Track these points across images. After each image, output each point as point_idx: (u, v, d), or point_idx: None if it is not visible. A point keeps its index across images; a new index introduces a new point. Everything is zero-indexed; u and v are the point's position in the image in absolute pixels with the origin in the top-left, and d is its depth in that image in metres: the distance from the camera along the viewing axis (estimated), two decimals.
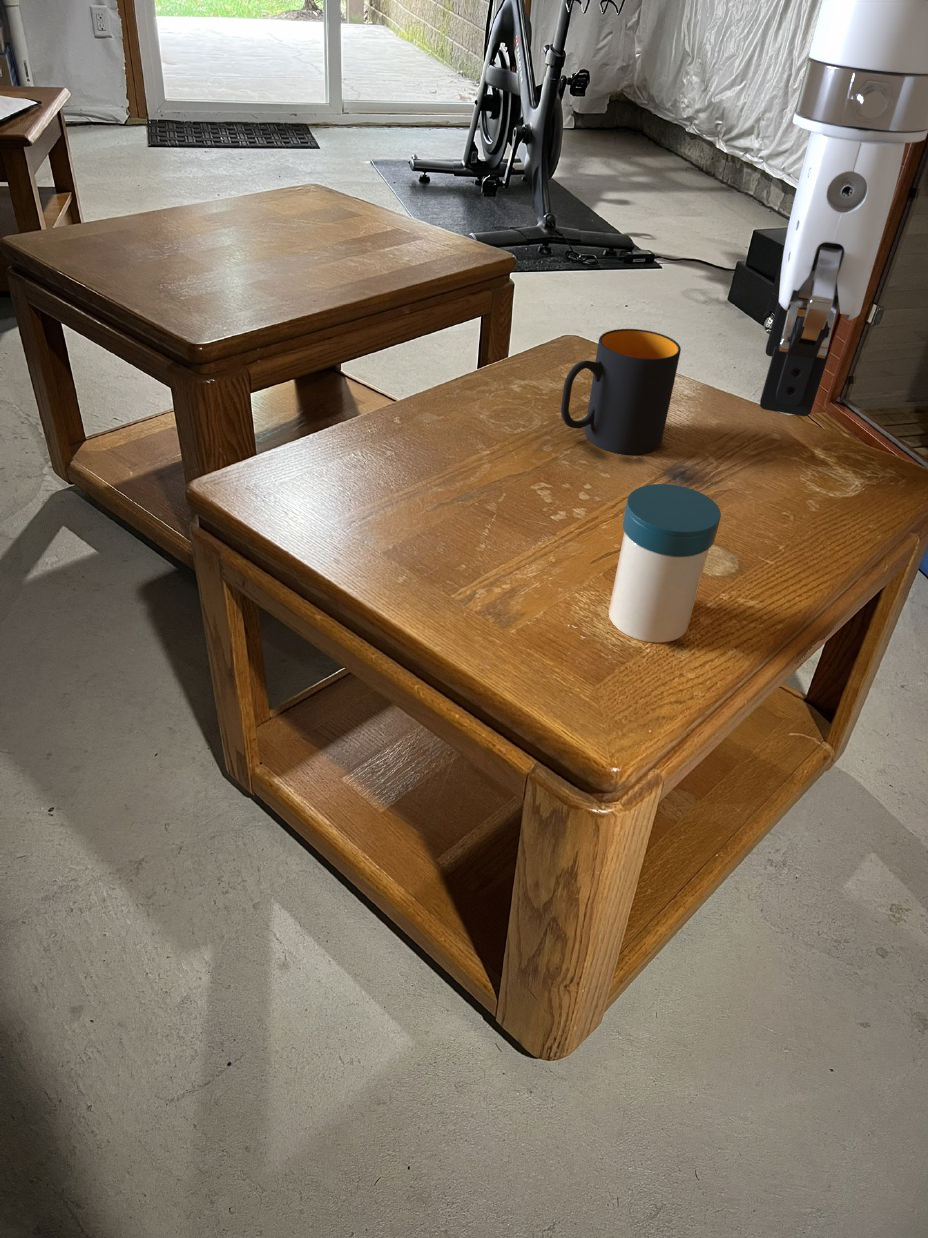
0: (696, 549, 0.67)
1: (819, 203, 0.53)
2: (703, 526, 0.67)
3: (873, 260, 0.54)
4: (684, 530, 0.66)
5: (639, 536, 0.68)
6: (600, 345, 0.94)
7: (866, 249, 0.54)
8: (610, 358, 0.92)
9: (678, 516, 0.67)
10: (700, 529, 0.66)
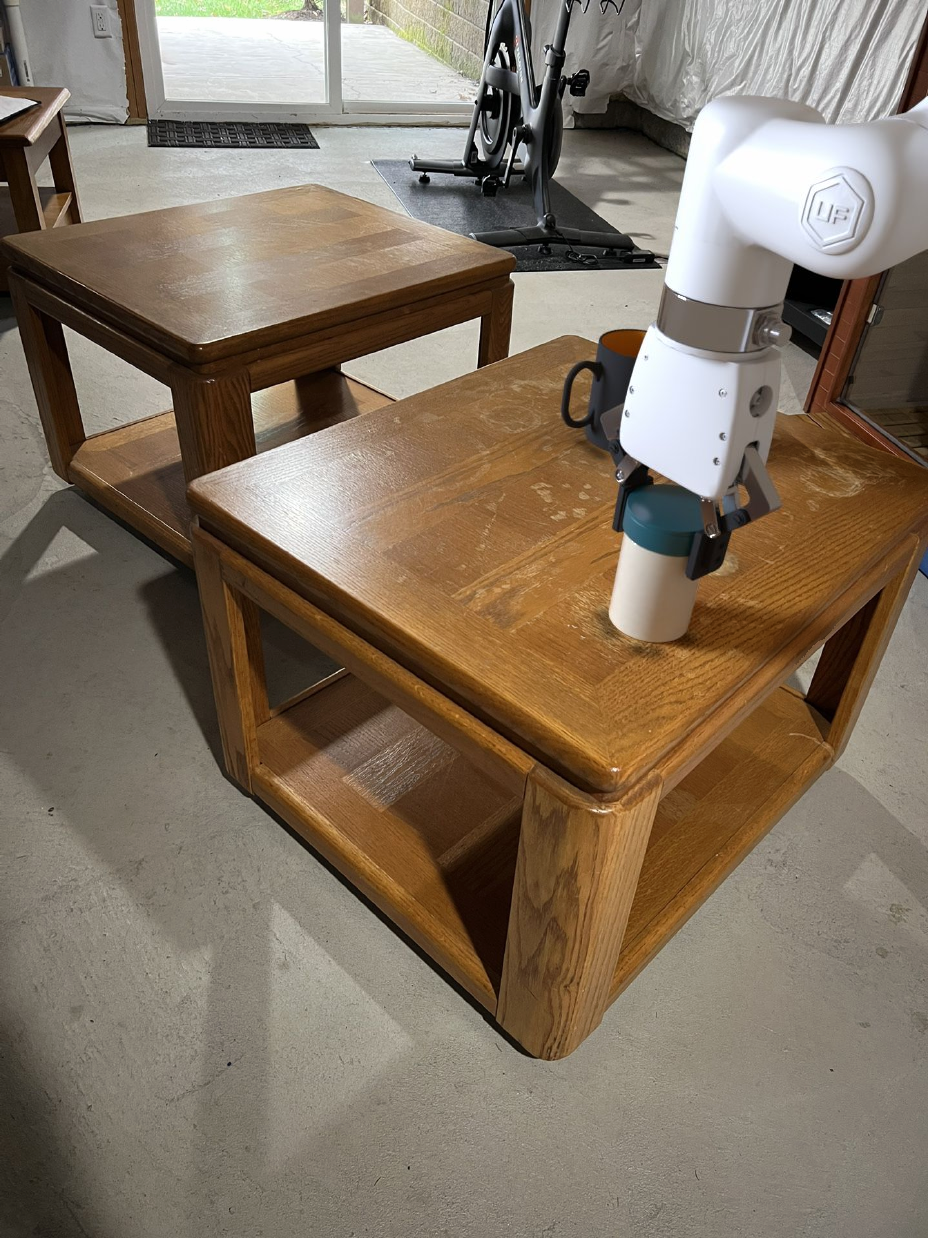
0: None
1: (744, 417, 0.59)
2: None
3: None
4: (684, 530, 0.66)
5: (639, 536, 0.68)
6: (600, 345, 0.94)
7: (770, 435, 0.62)
8: (610, 358, 0.92)
9: (678, 516, 0.67)
10: (700, 529, 0.66)
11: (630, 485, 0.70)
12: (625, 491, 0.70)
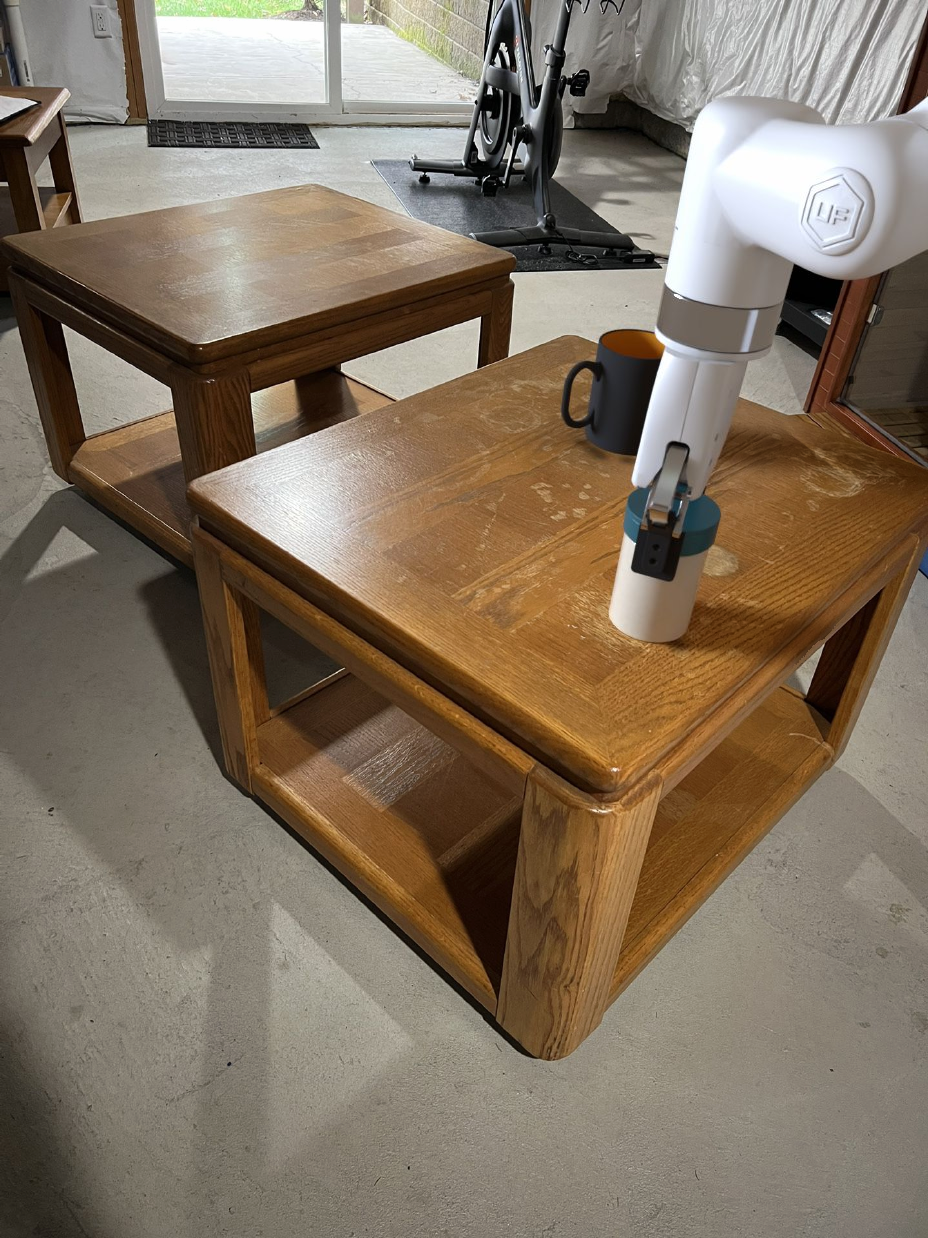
0: None
1: None
2: (684, 489, 0.71)
3: None
4: (705, 496, 0.70)
5: (716, 533, 0.68)
6: (600, 345, 0.94)
7: None
8: (610, 358, 0.92)
9: None
10: None
11: None
12: None
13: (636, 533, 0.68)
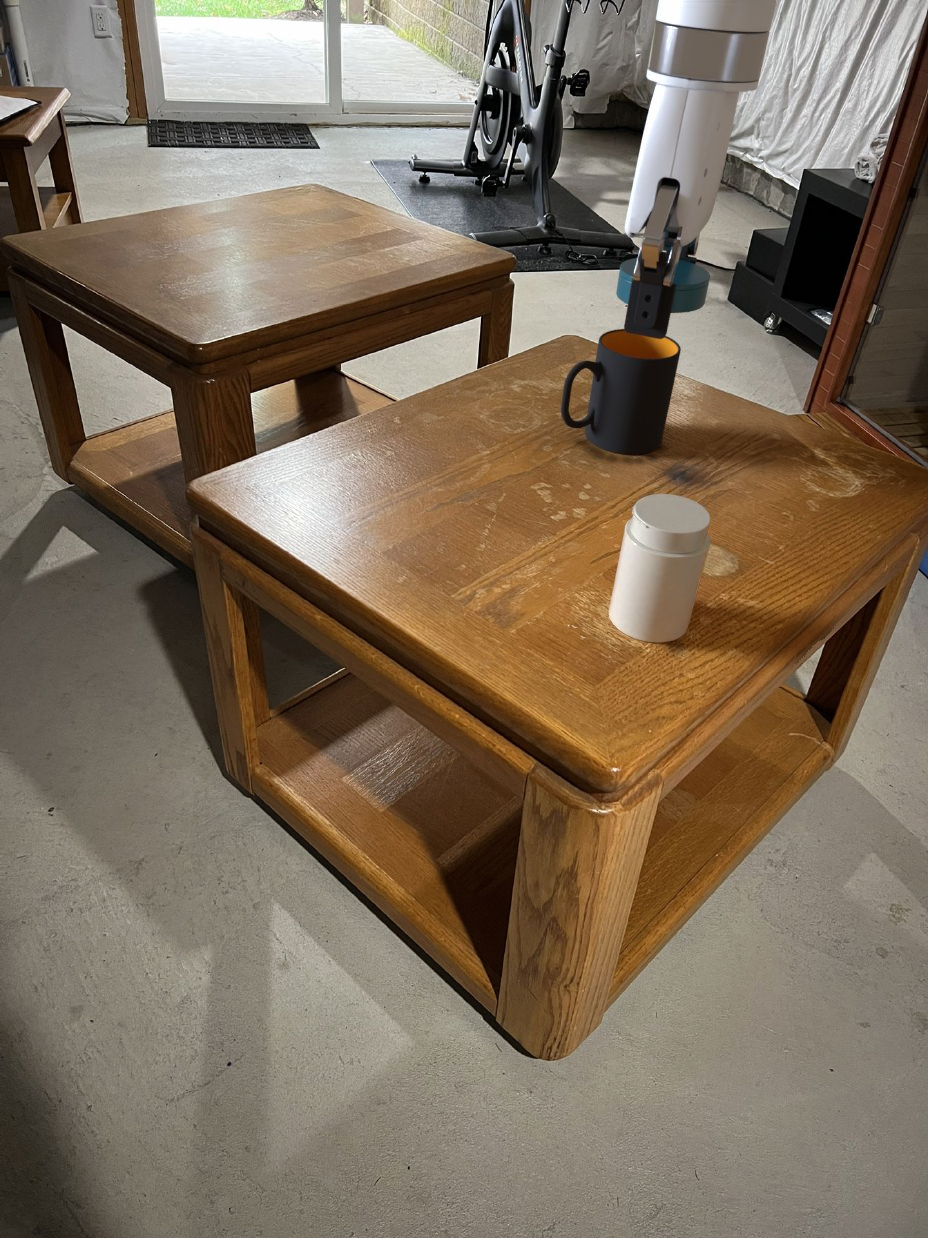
0: None
1: None
2: None
3: None
4: (695, 265, 0.73)
5: (705, 295, 0.71)
6: (600, 345, 0.94)
7: None
8: (610, 358, 0.92)
9: (677, 268, 0.72)
10: (682, 261, 0.74)
11: None
12: None
13: (629, 293, 0.70)
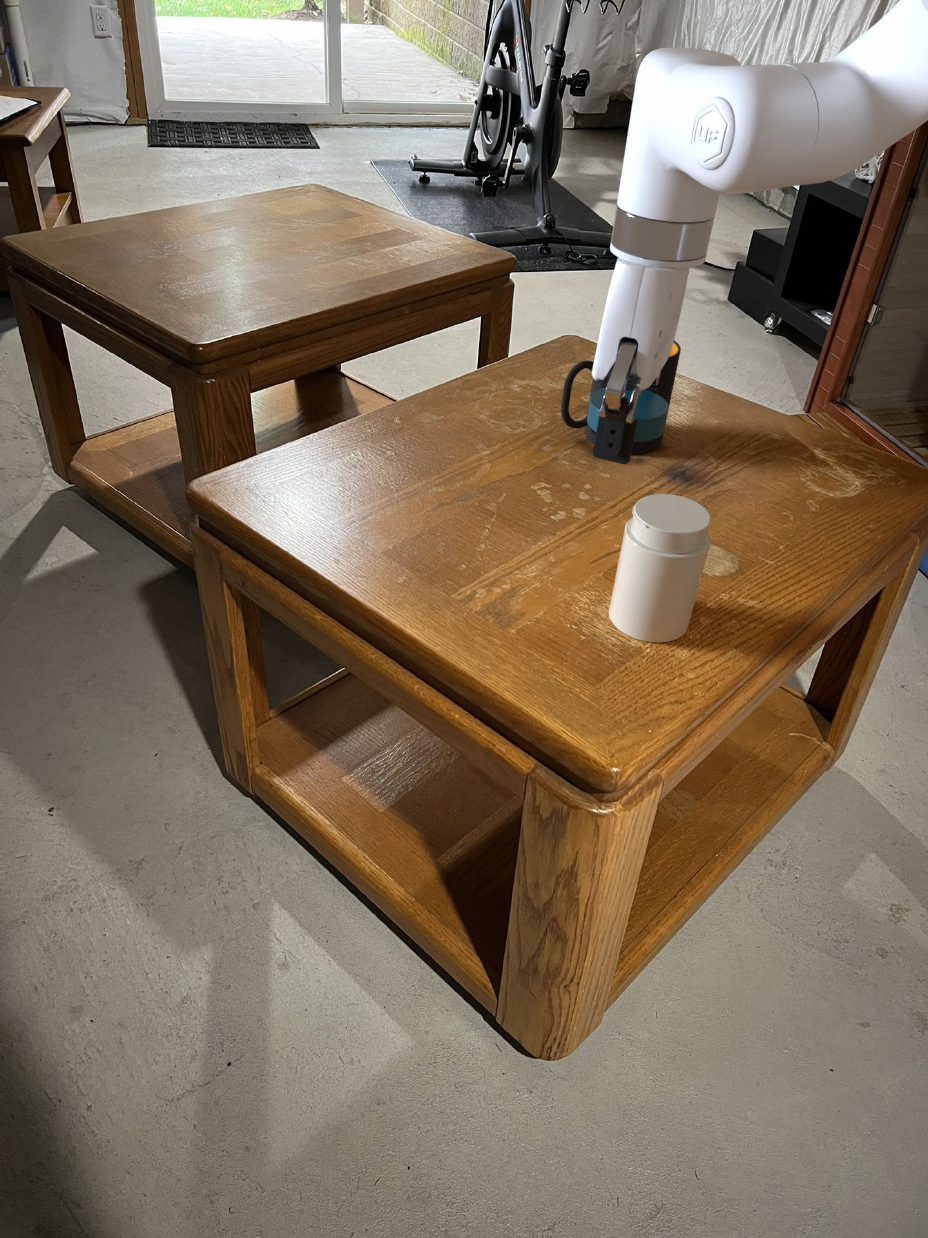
0: None
1: None
2: None
3: None
4: (657, 395, 0.83)
5: (665, 424, 0.81)
6: None
7: None
8: None
9: (640, 399, 0.82)
10: (646, 390, 0.83)
11: None
12: None
13: (597, 423, 0.80)
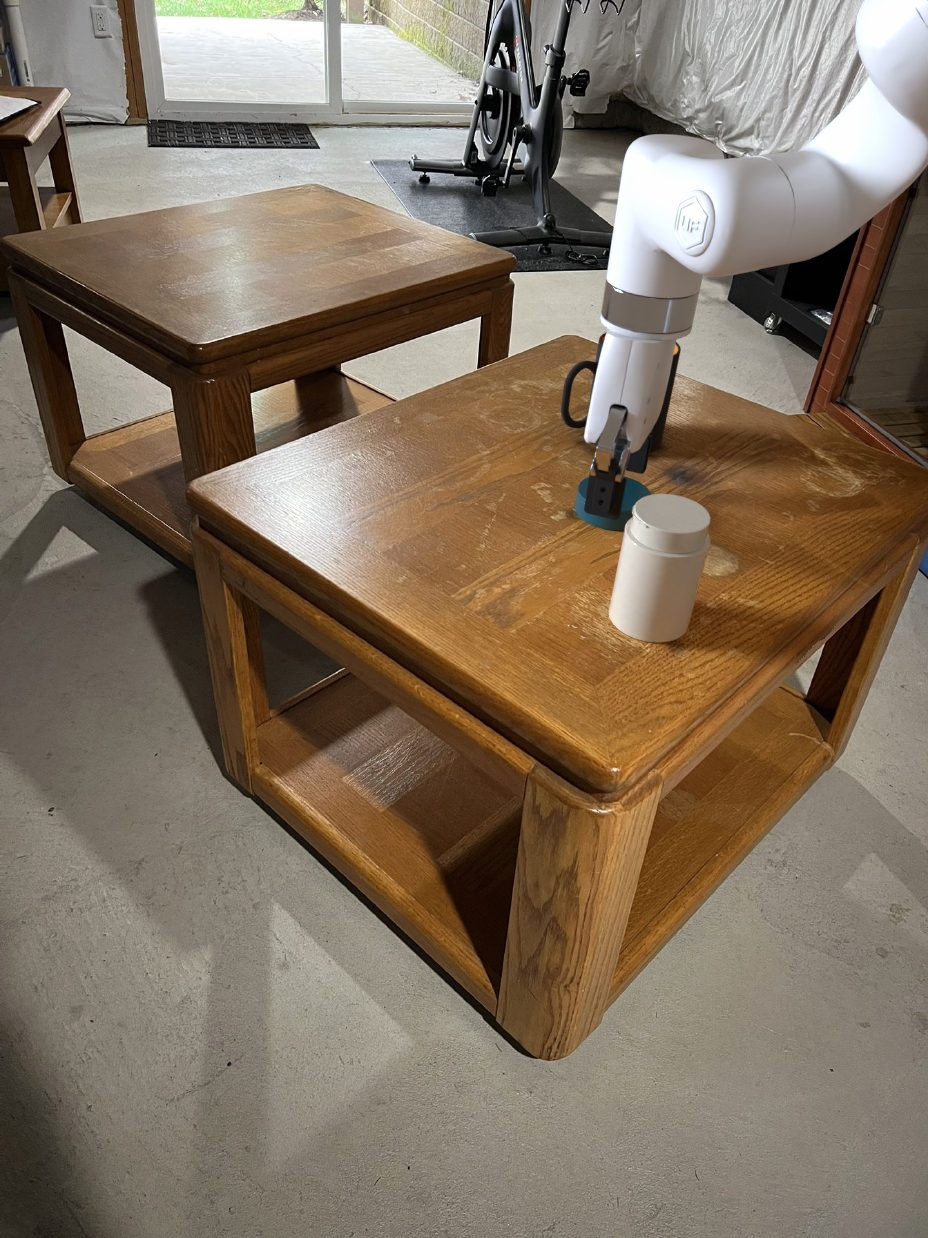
0: None
1: None
2: None
3: None
4: (641, 483, 0.88)
5: None
6: (600, 345, 0.94)
7: None
8: None
9: (625, 488, 0.87)
10: (630, 478, 0.89)
11: None
12: None
13: (584, 512, 0.86)
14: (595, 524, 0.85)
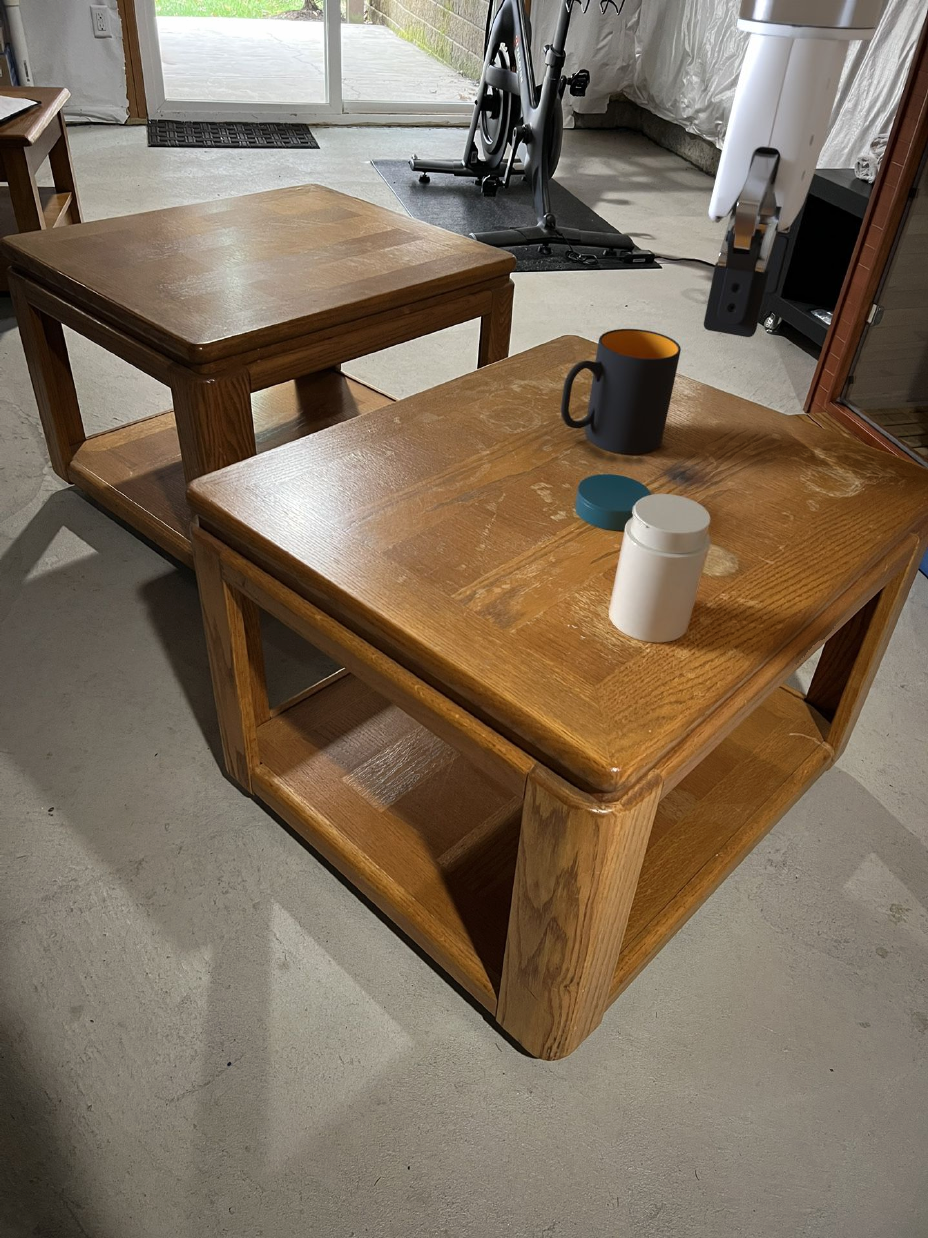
0: None
1: None
2: (624, 478, 0.89)
3: None
4: (641, 483, 0.88)
5: None
6: (600, 345, 0.94)
7: None
8: (610, 358, 0.92)
9: (625, 488, 0.87)
10: (630, 478, 0.89)
11: None
12: None
13: (584, 512, 0.86)
14: (595, 524, 0.85)
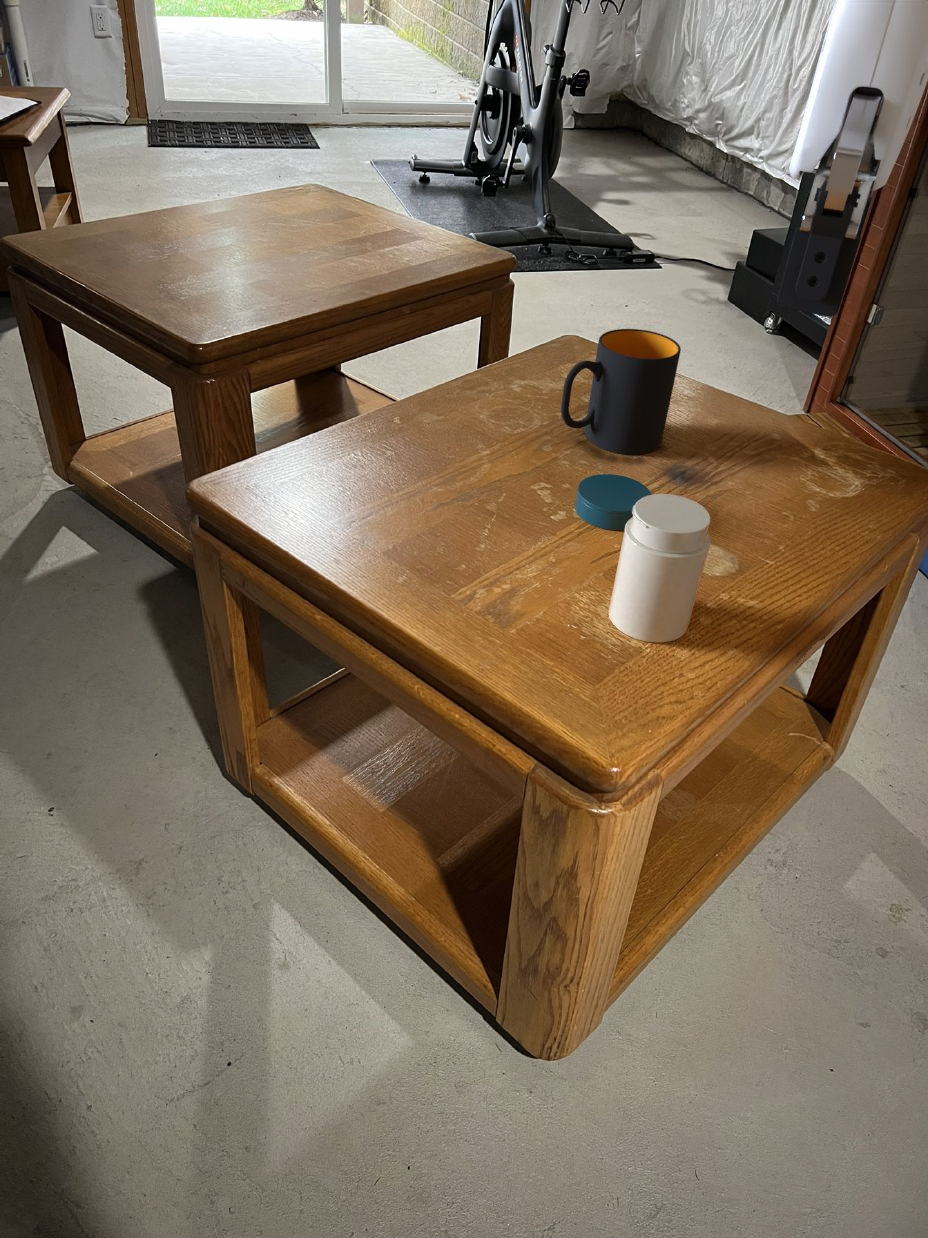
0: None
1: None
2: (624, 478, 0.89)
3: None
4: (641, 483, 0.88)
5: None
6: (600, 345, 0.94)
7: None
8: (610, 358, 0.92)
9: (625, 488, 0.87)
10: (630, 478, 0.89)
11: (846, 234, 0.47)
12: None
13: (584, 512, 0.86)
14: (595, 524, 0.85)
